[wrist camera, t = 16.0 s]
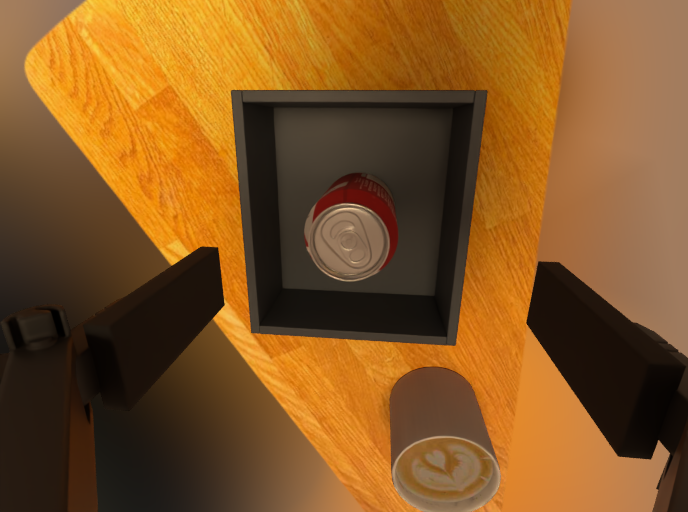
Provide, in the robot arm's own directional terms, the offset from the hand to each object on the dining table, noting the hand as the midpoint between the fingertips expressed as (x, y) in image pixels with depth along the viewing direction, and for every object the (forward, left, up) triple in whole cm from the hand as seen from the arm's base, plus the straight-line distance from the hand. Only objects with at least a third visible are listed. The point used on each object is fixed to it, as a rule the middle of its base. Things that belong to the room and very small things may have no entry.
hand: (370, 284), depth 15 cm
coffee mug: (-7, +26, -23) cm, 35 cm away
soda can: (+2, +1, -22) cm, 22 cm away
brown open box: (+2, +1, -22) cm, 23 cm away
